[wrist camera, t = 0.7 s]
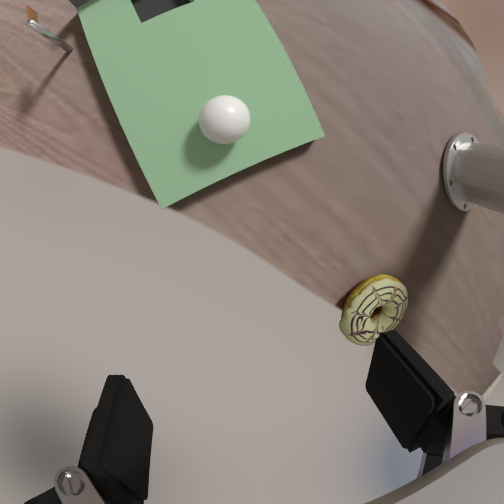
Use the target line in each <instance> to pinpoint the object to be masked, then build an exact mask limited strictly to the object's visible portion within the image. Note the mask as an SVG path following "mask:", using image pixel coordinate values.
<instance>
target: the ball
mask: <svg viewBox="0 0 504 504" xmlns="http://www.w3.org/2000/svg"><path fill="white" fill-rule="evenodd" d="M249 125H250V113H249V110H248V108H247V106H246V105H245V104H244V103H243V102H242V101H241V100H240V99H238V98H236V97H233V96H229V95H221V96H217V97H214V98H212V99H211V100H209V101H208V102H207V103H206V104H205V105H204V106H203V107H202V109H201V111H200V114H199V126H200V129H201V131H202V133H203V134H204V136H205V137H206V138H208V139H209V140H211V141H213V142H215V143H218V144H229V143H233V142H236V141H237V140H239V139H241V138H242V137H243V136H244V135H245V133H246V132H247V130H248V128H249Z"/></svg>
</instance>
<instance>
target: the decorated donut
mask: <svg viewBox="0 0 504 504" xmlns="http://www.w3.org/2000/svg"><path fill="white" fill-rule="evenodd" d="M407 305H408V294H407V290H406V287H405V286H404V285H403V284H402V283H401V282H400V281H399V280H398V279H396V278H394V277H392V276H390V275H385V274H381V275H376V276H372V277H369V278H367V279H365V280H364V281H362V282H361V283H359V284H358V285H357V286H356V287H355V288H354V289H353V290H352V291H351V293H350V294H349V295H348V297H347V299H346V301H345V303H344V307H343V312H342V317H341V320H340V322H339V327H340V330H341V332H342V333H343V334H344V335H345V336H346V338H347V339H348V340H350V341H351V342H353V343H355V344H357V345H366V346H368V345H372V344H374V343H375V341H376V339H377V338H378V337H379V335H380V333H383V332H386V331H389V330H394V329H395V328H396V326H397V325H398V324H399V323H400V321H401V320H402V318H403V315H404V313H405V310H406V308H407ZM376 307H377V308H376ZM375 308H376V310H375V312H374V313H373V314H372V312H373V311H374V309H375Z"/></svg>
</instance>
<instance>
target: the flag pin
mask: <svg viewBox="0 0 504 504" xmlns="http://www.w3.org/2000/svg"><path fill="white" fill-rule="evenodd" d="M26 10H27V18H28V21H27V23H26V26H27V27H29V28H31V29H32V30H34V31H36V32H37V33H39V34H40V35H42V36H43V37H45V38H47V39H48V40H50V41H51V42H53V43H54V44H56V45H57V46H59V47H60V48H62V49H63V50H65V51H66V52H68V53H70V52H71V51H72V50H73V48H72V47H71V46H70V45H68V44H67V43H66V42H64V41H63V40H61V39H60V38H59V37H57V36H56V35H54V34H53V33H52V32H50V31H49V30H47V29H46V28H44V27H43V26H41V25H40V24H39V23H38V18H37V12H36V11H35V10H33V9H32V8H31V7H29V6H26Z"/></svg>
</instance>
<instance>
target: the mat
mask: <svg viewBox="0 0 504 504" xmlns="http://www.w3.org/2000/svg"><path fill="white" fill-rule="evenodd" d="M69 1H70V2H71V3H72V4H73V5H74V6H75V7H76V8H77V11H78V14H79V17H80V20H81V23H82V26H83V29H84V32H85V35H86V38H87V41H88V44H89V47H90V49H91V52H92V55H93V58H94V60H95V63H96V65H97V68H98V71H99V73H100V76H101V78H102V81H103V83H104V86H105V88H106V91H107V93H108V96H109V98H110V100H111V103H112V105H113V108H114V110H115V112H116V115H117V117H118V119H119V121H120V124H121V126H122V128H123V130H124V133H125V135H126V137H127V139H128V141H129V144H130V146H131V148H132V150H133V152H134V154H135V157H136V159H137V161H138V163H139V165H140V167H141V169H142V171H143V173H144V175H145V177H146V179H147V181H148V183H149V185H150V187H151V189H152V191H153V193H154V195H155V197H156V199H157V201H158V203H159V205H160V207H161V209H164V208H165V207H167V206H169V205H171V204H173V203H175V202H177V201H179V200H181V199H183V198H185V197H187V196H189V195H191V194H193V193H195V192H197V191H199V190H201V189H203V188H205V187H207V186H209V185H211V184H213V183H215V182H217V181H219V180H221V179H223V178H226V177H228V176H230V175H232V174H234V173H236V172H239V171H241V170H243V169H245V168H247V167H250V166H252V165H254V164H257V163H259V162H261V161H263V160H266V159H268V158H271V157H273V156H275V155H278V154H280V153H283V152H285V151H287V150H290V149H292V148H295V147H297V146H300V145H303V144H305V143H308V142H310V141H313V140H316V139H318V138H321V137H324V136H325V135H324V133H323V130H322V128H321V125H320V123H319V121H318V118H317V116H316V114H315V111H314V109H313V107H312V105H311V102H310V100H309V98H308V96H307V94H306V91H305V89H304V87H303V85H302V83H301V81H300V79H299V77H298V75H297V73H296V71H295V69H294V67H293V65H292V63H291V61H290V59H289V57H288V55H287V53H286V51H285V50H284V48H283V46H282V44H281V42H280V40H279V39H278V37H277V35H276V33H275V32H274V30H273V28H272V26H271V25H270V23H269V21H268V20H267V18H266V16H265V15H264V13H263V11H262V10H261V8H260V7H259V5H258V4H257V2H256V0H69ZM221 95H229V96H233V97H236V98H238V99H240V100H241V101H242V102H243V103H244V104H245V105H246V106H247V108H248V110H249V113H250V125H249V128H248V130H247V132H246V133H245V135H244V136H243V137H242V138H241V139H239V140H237V141H236V142H233V143H229V144H218V143H215V142H213V141H211V140H209V139H208V138H206V137H205V136H204V134H203V133H202V131H201V129H200V126H199V114H200V111H201V109H202V107H203V106H204V105H205V104H206V103H207V102H208V101H209V100H211V99H212V98H214V97H217V96H221Z"/></svg>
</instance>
